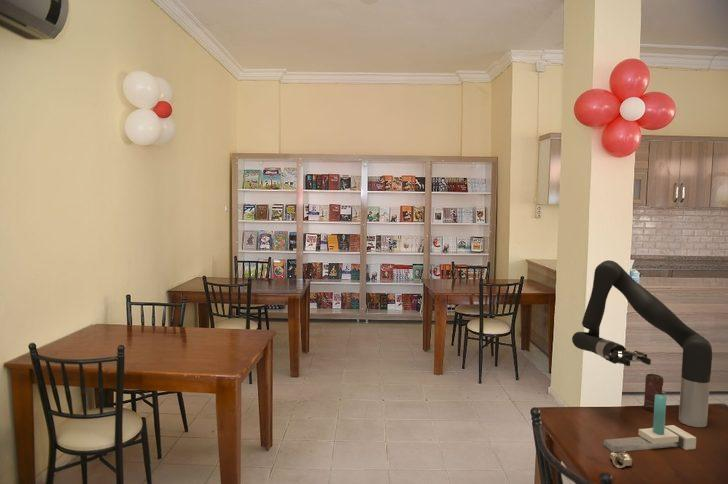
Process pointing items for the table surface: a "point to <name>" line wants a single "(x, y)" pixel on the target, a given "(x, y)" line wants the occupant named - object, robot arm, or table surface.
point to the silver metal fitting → (621, 459)
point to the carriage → (659, 424)
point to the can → (652, 390)
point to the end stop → (683, 437)
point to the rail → (634, 444)
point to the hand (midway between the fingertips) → (639, 362)
